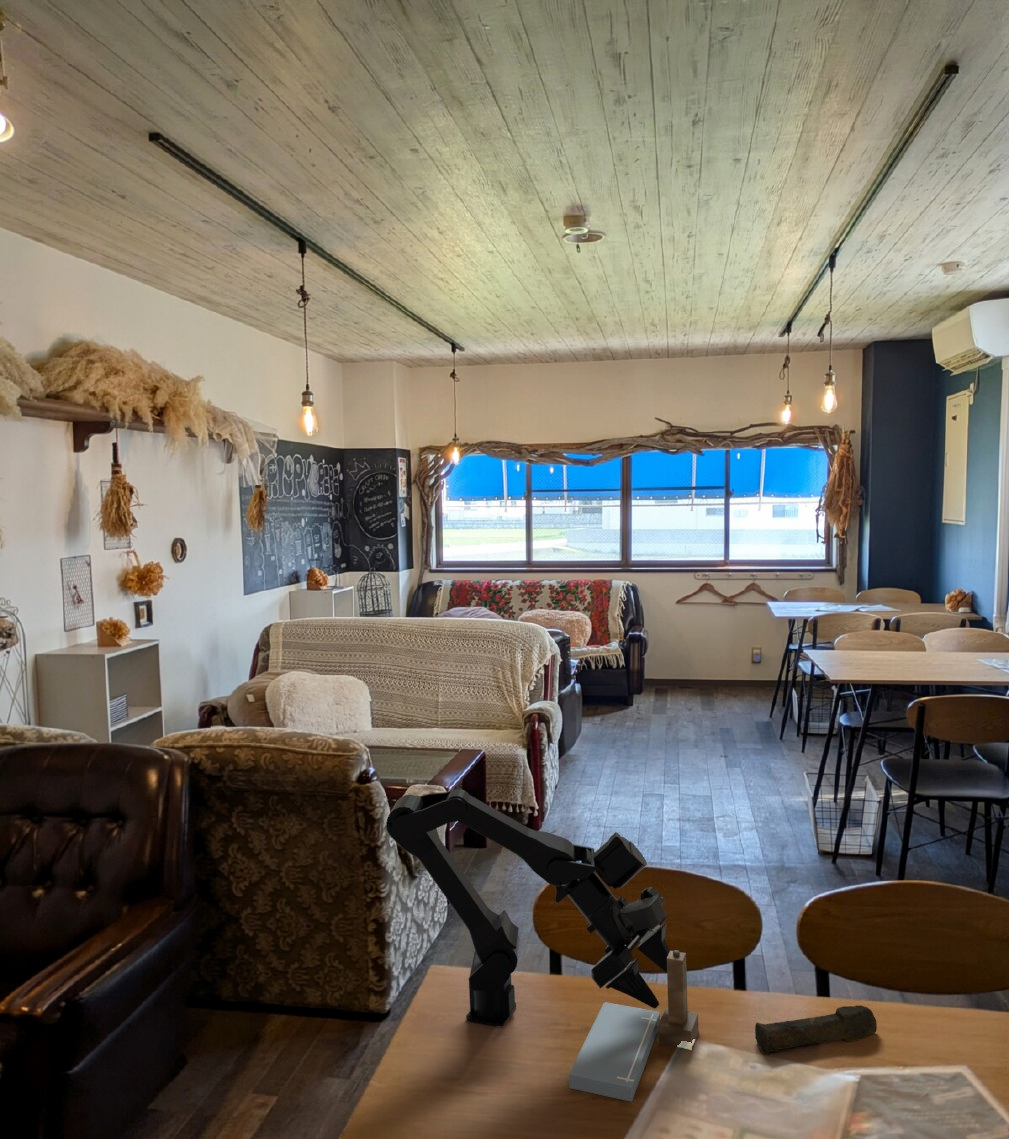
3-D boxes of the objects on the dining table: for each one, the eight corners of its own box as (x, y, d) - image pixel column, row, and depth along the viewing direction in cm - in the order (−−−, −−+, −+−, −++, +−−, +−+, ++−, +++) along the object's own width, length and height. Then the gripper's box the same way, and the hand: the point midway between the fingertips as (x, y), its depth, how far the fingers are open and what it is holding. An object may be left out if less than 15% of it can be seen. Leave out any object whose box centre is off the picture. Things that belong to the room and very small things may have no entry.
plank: (569, 1087, 123) (568, 1073, 123) (604, 1013, 140) (604, 1001, 140) (631, 1101, 119) (631, 1087, 119) (660, 1024, 137) (659, 1011, 137)
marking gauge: (658, 1043, 132) (656, 956, 131) (666, 1025, 137) (664, 941, 136) (691, 1050, 130) (689, 962, 129) (698, 1031, 135) (696, 946, 134)
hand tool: (764, 1059, 128) (764, 1029, 127) (753, 1043, 132) (753, 1013, 131) (886, 1045, 130) (885, 1015, 130) (871, 1029, 134) (871, 1000, 133)
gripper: (608, 902, 127) (683, 994, 122) (653, 857, 143) (721, 936, 138) (561, 943, 131) (631, 1033, 127) (610, 894, 148) (674, 972, 143)
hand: (667, 991), depth 134 cm, fingers open, 9 cm apart
